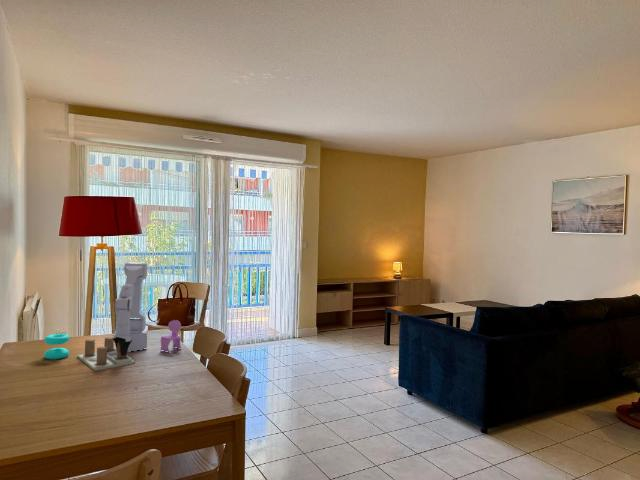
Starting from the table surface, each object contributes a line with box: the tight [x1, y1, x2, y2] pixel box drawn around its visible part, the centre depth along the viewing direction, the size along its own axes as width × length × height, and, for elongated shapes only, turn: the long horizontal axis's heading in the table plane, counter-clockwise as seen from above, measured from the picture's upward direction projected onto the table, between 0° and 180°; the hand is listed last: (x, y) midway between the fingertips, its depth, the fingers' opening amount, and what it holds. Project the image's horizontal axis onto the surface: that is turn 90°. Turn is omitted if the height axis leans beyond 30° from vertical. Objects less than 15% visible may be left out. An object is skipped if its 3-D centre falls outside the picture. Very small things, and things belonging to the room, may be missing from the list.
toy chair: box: [160, 319, 182, 352], centre depth 219 cm, size 8×9×15 cm
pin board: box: [76, 336, 136, 371], centre depth 199 cm, size 17×24×8 cm
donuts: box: [43, 333, 70, 360], centre depth 201 cm, size 10×10×10 cm
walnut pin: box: [117, 343, 128, 360], centre depth 196 cm, size 4×4×7 cm
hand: (121, 354), depth 196 cm, fingers closed on walnut pin, 4 cm apart
